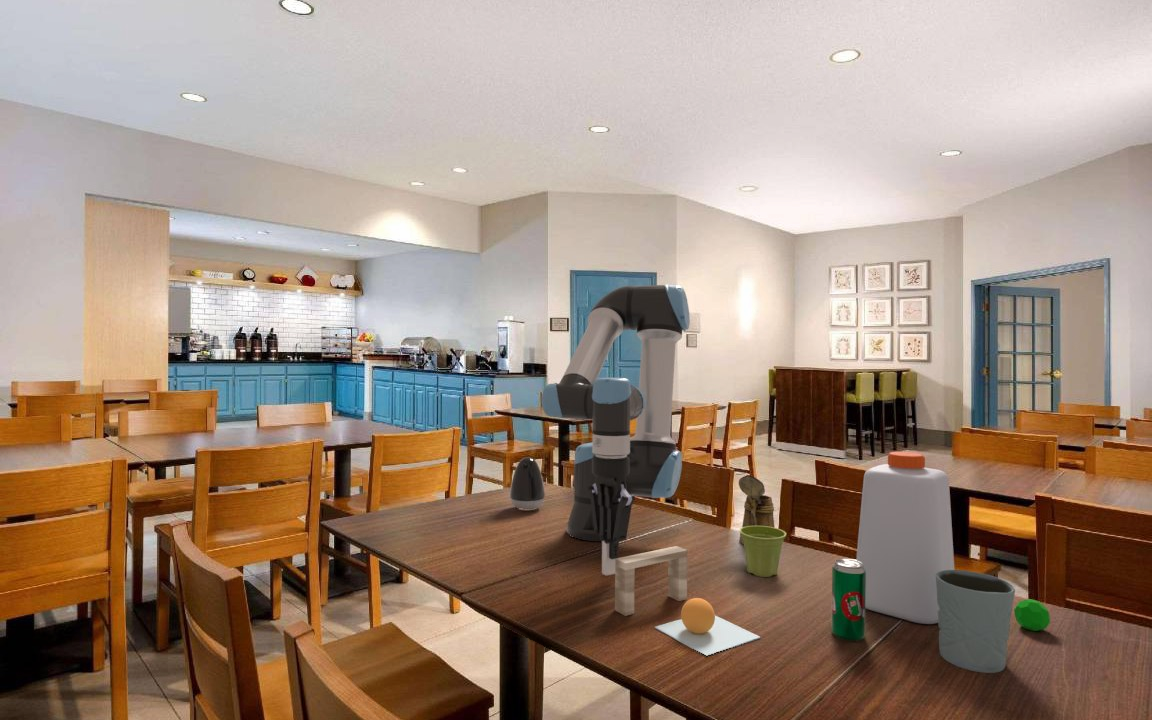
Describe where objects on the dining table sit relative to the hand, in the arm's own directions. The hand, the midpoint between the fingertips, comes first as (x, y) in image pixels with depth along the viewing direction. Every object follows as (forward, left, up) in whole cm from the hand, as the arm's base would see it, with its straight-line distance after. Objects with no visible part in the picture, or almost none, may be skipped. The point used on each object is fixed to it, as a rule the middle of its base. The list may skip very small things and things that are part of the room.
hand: (609, 573), depth 128 cm
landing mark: (+27, 0, -2) cm, 27 cm away
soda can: (+40, +19, -2) cm, 44 cm away
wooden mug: (-2, +45, -2) cm, 45 cm away
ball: (+26, -1, +1) cm, 26 cm away
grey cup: (+55, +28, -2) cm, 62 cm away
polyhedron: (+55, +48, -2) cm, 73 cm away
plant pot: (+12, +31, -2) cm, 33 cm away
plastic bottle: (+38, +39, -2) cm, 54 cm away
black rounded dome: (-61, +15, -2) cm, 63 cm away
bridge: (+13, 0, -2) cm, 13 cm away
